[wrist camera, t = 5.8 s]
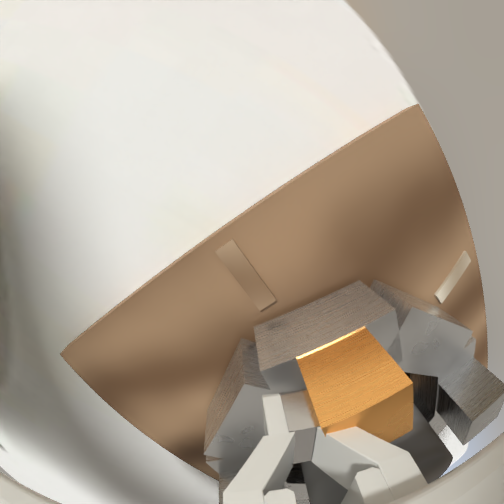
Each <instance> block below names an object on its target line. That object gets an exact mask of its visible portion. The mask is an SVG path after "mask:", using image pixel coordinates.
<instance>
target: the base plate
mask: <svg viewBox="0 0 504 504" xmlns="http://www.w3.org/2000/svg"><path fill="white" fill-rule="evenodd" d="M374 279H375V280H378V281H380V282H382V283H385V284H387V285H389V286H392V287H394V288H396V289H399V290H401V291H403V292H405V293H408V294H410V295H412V296H415V297H417V298H419V299H421V300H424V301H426V302H428V303H430V304H433V305H435V306H437V307H439V308H440V309H442V310H443V311H445V312H446V313H448V314H449V315H451V316H452V317H453V318H455V319H456V320H458V321H459V322H461V323H462V324H463V325H465V326H466V327H468V328H469V329H470V330H472V331H473V333H472V335H471V336H473V337H474V338H475V339H476V344H475V352H474V358H475V359H476V360H478V361H479V362H480V363H481V364H482V365H483V366H485V367H486V368H487V365H488V364H487V363H488V361H487V360H488V354H487V353H488V351H487V327H486V326H487V325H486V314H485V304H484V296H483V288H482V282H481V276H480V270H479V265H478V259H477V255H476V250H475V246H474V242H473V238H472V234H471V230H470V226H469V223H468V219H467V216H466V212H465V209H464V206H463V203H462V200H461V197H460V194H459V191H458V189H457V186H456V183H455V180H454V178H453V175H452V172H451V170H450V167H449V165H448V163H447V161H446V158H445V156H444V153H443V151H442V149H441V147H440V145H439V142H438V140H437V138H436V136H435V134H434V132H433V130H432V128H431V126H430V124H429V122H428V120H427V119H426V117H425V115H424V113H423V111H422V109H421V108H420V106H419V104H416V105H413V106H411V107H408V108H406V109H404V110H403V111H401V112H399V113H397V114H396V115H394V116H392V117H391V118H389V119H387V120H385V121H384V122H382V123H380V124H379V125H377V126H375V127H374V128H372V129H370V130H369V131H367V132H366V133H364V134H362V135H361V136H359V137H357V138H356V139H354V140H352V141H351V142H349V143H348V144H346V145H344V146H343V147H341V148H340V149H338V150H336V151H335V152H333V153H332V154H330V155H329V156H327V157H325V158H324V159H322V160H321V161H319V162H318V163H316V164H314V165H313V166H311V167H310V168H308V169H307V170H305V171H304V172H302V173H301V174H299V175H298V176H296V177H294V178H293V179H291V180H290V181H288V182H287V183H285V184H284V185H282V186H281V187H279V188H278V189H276V190H275V191H273V192H272V193H270V194H269V195H268V196H266V197H265V198H263V199H262V200H260V201H259V202H257V203H256V204H254V205H253V206H251V207H250V208H248V209H247V210H246V211H244V212H243V213H241V214H240V215H238V216H237V217H235V218H234V219H233V220H231V221H230V222H228V223H227V224H225V225H224V226H223V227H221V228H220V229H218V230H217V231H216V232H214V233H213V234H211V235H210V236H209V237H207V238H206V239H204V240H203V241H202V242H200V243H199V244H197V245H196V246H195V247H193V248H192V249H191V250H189V251H188V252H186V253H185V254H184V255H182V256H181V257H180V258H178V259H177V260H176V261H174V262H173V263H172V264H170V265H169V266H168V267H166V268H165V269H164V270H162V271H161V272H160V273H158V274H157V275H156V276H154V277H153V278H152V279H150V280H149V281H148V282H146V283H145V284H144V285H142V286H141V287H140V288H138V289H137V290H136V291H135V292H133V293H132V294H131V295H129V296H128V297H127V298H126V299H124V300H123V301H122V302H120V303H119V304H118V305H117V306H115V307H114V308H113V309H112V310H110V311H109V312H108V313H107V314H105V315H104V316H103V317H102V318H100V319H99V320H98V321H97V322H95V323H94V324H93V325H92V326H90V327H89V328H88V329H87V330H85V331H84V332H83V333H82V334H81V335H79V336H78V337H77V338H76V339H75V340H73V341H72V342H71V343H70V344H69V345H67V347H66V348H65V349H64V350H63V351H62V352H61V353H60V355H61V356H62V357H63V358H64V360H65V361H66V362H67V363H68V364H69V365H70V366H71V367H72V369H73V370H74V371H75V372H76V373H77V374H78V375H79V376H80V377H81V378H82V379H83V380H84V381H85V382H86V383H87V384H88V385H89V386H90V387H91V388H92V389H93V390H94V391H95V392H96V393H97V394H98V395H99V396H100V397H101V398H102V399H103V400H104V401H105V402H107V403H108V404H109V405H110V406H111V407H112V408H113V409H114V410H116V411H117V412H118V413H119V414H120V415H121V416H123V417H124V418H125V419H126V420H127V421H129V422H130V423H131V424H132V425H134V426H135V427H136V428H137V429H139V430H140V431H141V432H143V433H144V434H145V435H146V436H148V437H149V438H151V439H152V440H153V441H155V442H156V443H157V444H159V445H160V446H162V447H163V448H165V449H166V450H168V451H169V452H171V453H172V454H174V455H175V456H177V457H178V458H180V459H181V460H183V461H185V462H186V463H188V464H190V465H191V466H193V467H195V468H196V469H198V470H200V471H202V472H203V473H205V474H207V475H209V476H211V477H212V478H214V479H216V480H218V481H219V473H217V472H216V471H215V470H214V469H213V468H211V467H210V466H209V465H208V464H207V463H206V455H204V443H205V431H206V419H207V409H208V407H209V405H210V403H211V401H212V399H213V397H214V395H215V393H216V390H217V388H218V386H219V384H220V382H221V380H222V378H223V376H224V374H225V372H226V369H227V367H228V365H229V363H230V361H231V359H232V357H233V355H234V352H235V350H236V348H237V346H238V344H239V342H240V339H241V338H243V339H247V340H250V341H253V342H256V340H255V333H254V326H257V325H259V324H262V323H264V322H267V321H269V320H272V319H274V318H276V317H279V316H281V315H284V314H286V313H288V312H291V311H293V310H295V309H298V308H300V307H302V306H305V305H307V304H309V303H311V302H314V301H316V300H318V299H320V298H322V297H325V296H327V295H329V294H331V293H333V292H335V291H337V290H340V289H342V288H344V287H346V286H348V285H350V284H352V283H354V282H356V281H358V280H360V281H361V282H362V283H364V284H365V285H366V286H368V287H369V288H370V286H371V284H372V282H373V280H374ZM404 373H405V374H406V375H407V376H408V377H409V378H410V373H408V372H404ZM390 444H393V445H395V446H397V447H399V448H401V449H403V450H406V451H408V452H409V453H410V455H411V456H412V458H413V460H414V461H415V463H416V465H417V466H418V468H419V470H420V471H421V473H422V475H423V477H424V478H425V480H426V482H427V483H428V484H429V483H431V482H433V481H435V480H437V479H438V478H439V477H440V476H441V475H442V474H443V473H444V472H445V471H446V470H447V468H448V467H449V466H450V464H451V462H452V459H453V457H452V455H451V453H450V452H449V450H448V449H447V448H446V446H445V445H444V443H443V442H442V441H441V439H440V438H439V437H438V435H437V434H436V432H435V431H434V430H433V428H432V427H431V426H430V424H429V423H428V421H427V420H426V419H425V417H424V416H423V415H422V413H421V412H420V411H419V409H418V408H417V407H416V405H415V404H414V403H413V430H411V431H410V432H408V433H406V434H404V435H403V436H401V437H399V438H397V439H396V440H394V441H392V442H390ZM300 464H301V468H302V472H303V476H304V481H305V485H306V489H307V493H308V497H309V501H310V504H341V502H342V501H343V499H344V497H345V495H346V493H347V492H348V490H347V489H346V488H344V487H343V486H342V485H340V484H339V483H338V482H336V481H335V480H334V479H333V478H331V477H330V476H329V475H327V474H326V473H325V472H324V471H322V470H321V469H320V468H319V467H317V466H316V465H315V464H314V463H313V462H312V461H306V462H301V463H300Z"/></svg>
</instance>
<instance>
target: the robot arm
mask: <svg viewBox="0 0 504 504" xmlns="http://www.w3.org/2000/svg"><path fill="white" fill-rule="evenodd" d="M262 404H263V418H264V428H265V436H263V437H262V439H261V440H260V442H259V443H258V445H257V446H256V448H255V449H254V451H253V452H252V454H251V455H250V457H249V458H248V459H247V461H246V462H245V464H244V465H243V467H242V468H241V469H240V471H239V472H238V473H237V475H236V476H235V477H234V479H233V480H232V481H231V483H230V484H229V485H228V487H227V488H226V489H225V491H224V492H223V504H297V503H296V499H295V494H294V491H291V490H289V489H282V487H283V485H284V483H285V481H286V479H287V477H288V475H289V473H290V471H291V469H292V467H293V464H296V463H301V462H306V461H312V462H313V463H314V464H315V465H316V466H317V467H319V468H320V469H321V470H322V471H324V472H325V473H326V474H327V475H329V476H330V477H331V478H333V479H334V480H335V481H336V482H338V483H339V484H340V485H342V486H343V487H344V488H346V489H347V490H348V492H347V493H346V495H345V497H344V499H343V501H342V502H341V504H504V432H503V433H502V434H501V435H500V436H498V437H497V438H496V439H495V440H494V441H492V442H491V443H490V444H489V445H487V446H486V447H485V448H483V449H482V450H481V451H479V452H478V453H477V454H475V455H474V456H473V457H471V458H470V459H468V460H467V461H466V462H464V463H462V464H461V465H459V466H458V467H456V468H455V469H453V470H452V471H450V472H448V473H447V474H445V475H443V476H442V477H440V478H438V479H437V480H435V481H433V482H431V483H429V484H428V483H427V482H426V480H425V478H424V477H423V475H422V473H421V471H420V470H419V468H418V466H417V465H416V463H415V461H414V460H413V458H412V456H411V455H410V453H409V452H408V451H406V450H403V449H401V448H399V447H397V446H395V445H393V444H390V443H388V442H386V441H384V440H382V439H380V438H378V437H376V436H374V435H372V434H370V433H368V432H366V431H364V430H363V429H361V428H359V427H357V426H355V427H351V428H348V429H344V430H340V431H336V432H332V433H327V434H326V437H325V435H324V433H323V431H322V429H321V426H320V423H319V421H318V418H317V415H316V412H315V409H314V407H313V404H312V401H311V398H310V395H309V392H308V390H307V389H303V390H297V391H291V392H282V393H277V394H266V395H262ZM0 504H61V503H59V502H56V501H54V500H52V499H50V498H48V497H45V496H43V495H41V494H39V493H37V492H35V491H33V490H31V489H29V488H28V487H26V486H24V485H22V484H20V483H19V482H17V481H15V480H13V479H12V478H10V477H8V476H7V475H5V474H4V473H2V472H0Z"/></svg>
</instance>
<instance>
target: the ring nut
mask: <svg viewBox="0 0 504 504" xmlns="http://www.w3.org/2000/svg"><path fill="white" fill-rule="evenodd" d="M254 333H255V340H256V342H253V341H250V340H247V339H243V338H241V339H240V342H239V344H238V346H237V348H236V350H235V352H234V355H233V357H232V359H231V361H230V363H229V365H228V367H227V369H226V372H225V374H224V376H223V378H222V380H221V382H220V384H219V386H218V388H217V390H216V393H215V395H214V397H213V399H212V401H211V403H210V405H209V407H208V409H207V419H206V431H205V443H204V455H206V463H207V464H208V465H209V466H210V467H211V468H213V469H214V470H215V471H216V472H217V473H219V504H223V492H224V491H225V489H226V488H227V487H228V485H229V484H230V483H231V481H232V480H233V479H234V477H235V476H236V475H237V473H238V472H239V471H240V469H241V468H242V467H243V465H244V464H245V462H246V461H247V459H248V458H249V457H250V455H251V454H252V452H253V451H254V449H255V448H256V446H257V445H258V443H259V442H260V440H261V439H262V437H263V436H265V428H264V418H263V404H262V395H266V394H277V393H282V392H291V391H297V390H303V389H307V390H308V392H309V395H310V398H311V401H312V404H313V407H314V409H315V412H316V415H317V418H318V421H319V423H320V426H321V429H322V431H323V433H324V435H325V437H326V434H327V433H332V432H336V431H340V430H344V429H348V428H351V427H355V426H357V427H359V428H361V429H363V430H364V431H366V432H368V433H370V434H372V435H374V436H376V437H378V438H380V439H382V440H384V441H386V442H388V443H390V442H392V441H394V440H396V439H397V438H399V437H401V436H403V435H404V434H406V433H408V432H410V431H411V430H413V403H414V404H415V405H416V407H417V408H418V409H419V411H420V412H421V413H422V415H423V416H424V417H425V419H426V420H427V421H428V423H429V424H430V426H431V427H432V428H433V430H434V431H435V432H436V434H437V435H438V434H439V433H440V432H441V431H442V430H443V429H444V427H445V426H446V425H448V426H449V428H450V429H451V430H452V431H453V433H454V434H455V435H456V437H457V438H458V439H459V441H460V442H461V443H462V444H463V445H465V444H466V443H467V442H469V441H470V440H471V439H472V438H473V437H475V436H476V435H477V434H478V433H479V432H481V431H482V430H483V429H484V428H485V427H486V426H487V425H489V424H490V423H491V422H492V421H493V420H494V419H495V418H496V417H497V416H498V414H499V412H500V410H501V407H502V405H503V402H504V383H503V382H502V381H501V380H499V379H498V378H497V377H496V376H495V375H494V374H493V373H491V372H490V371H489V370H488V369H487V368H486V367H485V366H483V365H482V364H481V363H480V362H479V361H478V360H476V359H475V358H474V352H475V344H476V339H475V338H474V337H473V336H471V335H472V333H473V331H472V330H470V329H469V328H468V327H466V326H465V325H463V324H462V323H461V322H459V321H458V320H456V319H455V318H453V317H452V316H451V315H449V314H448V313H446V312H445V311H443V310H442V309H440V308H439V307H437V306H435V305H433V304H430V303H428V302H426V301H424V300H421V299H419V298H417V297H415V296H412V295H410V294H408V293H405V292H403V291H401V290H399V289H396V288H394V287H392V286H389V285H387V284H385V283H382V282H380V281H378V280H375V279H374V280H373V282H372V284H371V286H370V288H369V287H368V286H366V285H365V284H364V283H362V282H361V281H360V280H358V281H356V282H354V283H352V284H350V285H348V286H346V287H344V288H342V289H340V290H337V291H335V292H333V293H331V294H329V295H327V296H325V297H322V298H320V299H318V300H316V301H314V302H311V303H309V304H307V305H305V306H302V307H300V308H298V309H295V310H293V311H291V312H288V313H286V314H284V315H281V316H279V317H276V318H274V319H272V320H269V321H267V322H264V323H262V324H259V325H257V326H254ZM404 372H408V373H410V378H409V377H408V376H407V375H406V374H405V373H404ZM282 489H289V490H291V491H294V494H295V499H296V500H309V497H308V493H307V489H306V485H305V481H304V476H303V472H302V468H301V464H300V463H296V464H293V467H292V469H291V471H290V473H289V475H288V477H287V479H286V481H285V483H284V485H283V487H282Z"/></svg>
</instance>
